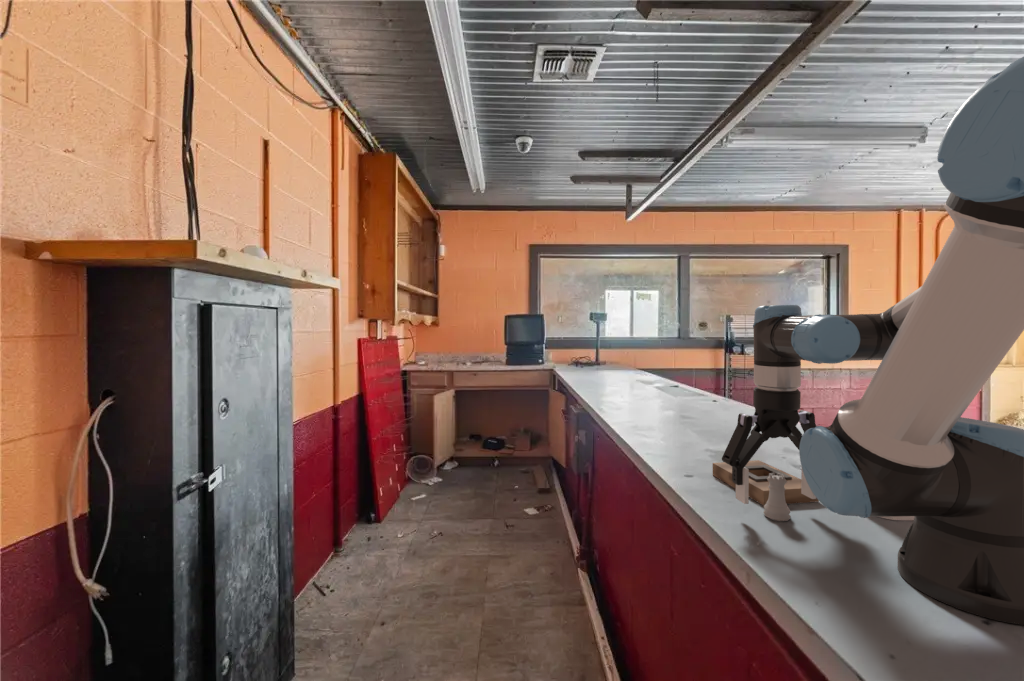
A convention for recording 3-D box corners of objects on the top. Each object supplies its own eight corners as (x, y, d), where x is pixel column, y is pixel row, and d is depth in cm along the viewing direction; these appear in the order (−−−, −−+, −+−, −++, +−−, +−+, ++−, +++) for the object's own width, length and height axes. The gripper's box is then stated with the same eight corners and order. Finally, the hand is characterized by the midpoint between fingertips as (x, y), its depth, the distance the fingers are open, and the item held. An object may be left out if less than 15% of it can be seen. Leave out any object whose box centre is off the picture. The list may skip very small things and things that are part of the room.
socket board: (818, 501, 88) (818, 484, 87) (763, 505, 86) (763, 488, 86) (758, 472, 105) (758, 458, 105) (712, 475, 104) (712, 460, 104)
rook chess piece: (795, 523, 79) (795, 479, 78) (768, 521, 79) (768, 478, 79) (785, 512, 83) (784, 471, 83) (759, 511, 84) (759, 470, 84)
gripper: (821, 382, 86) (819, 486, 87) (702, 386, 83) (702, 494, 84) (855, 388, 78) (853, 502, 79) (725, 393, 75) (725, 511, 77)
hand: (775, 498), depth 82 cm, fingers open, 13 cm apart
